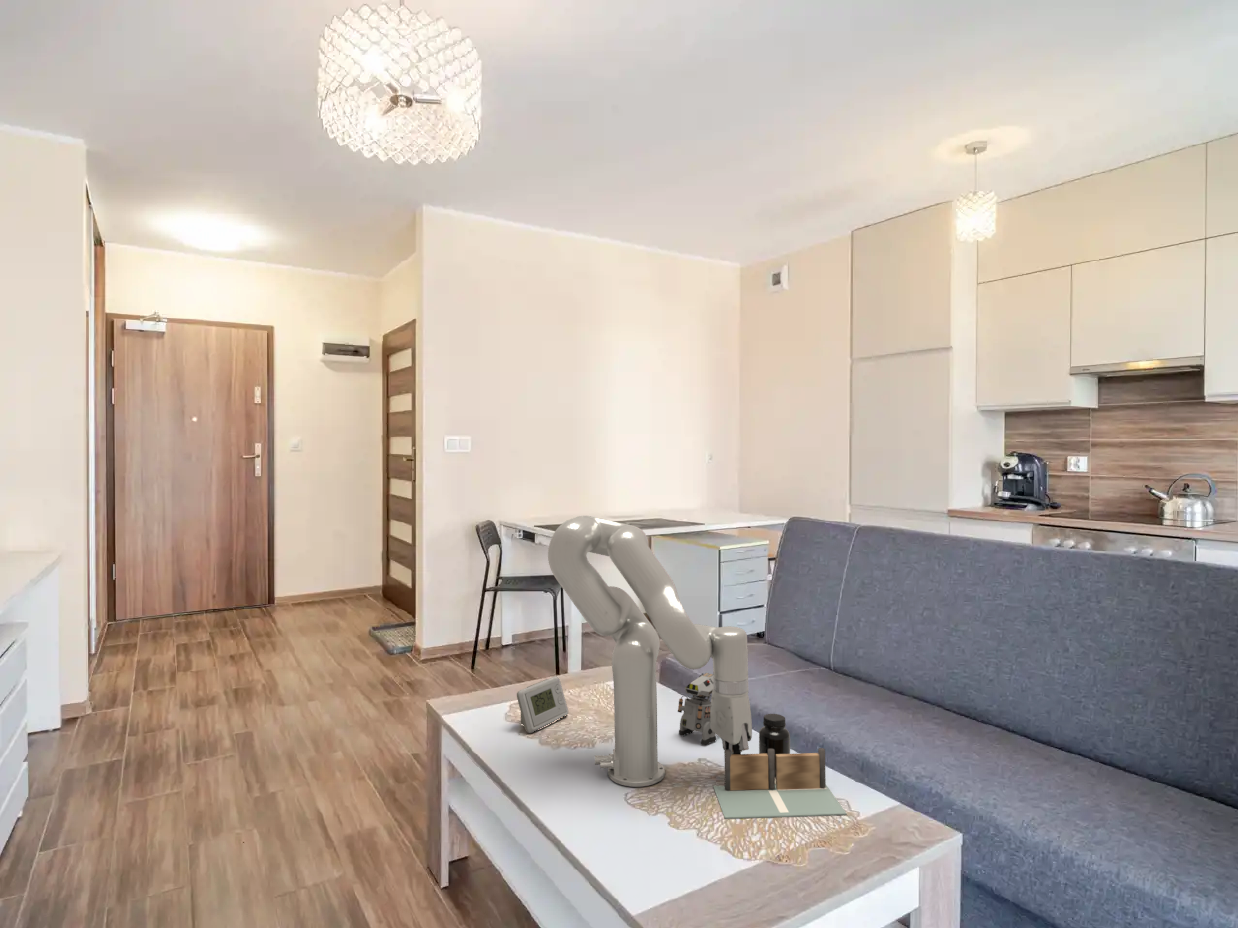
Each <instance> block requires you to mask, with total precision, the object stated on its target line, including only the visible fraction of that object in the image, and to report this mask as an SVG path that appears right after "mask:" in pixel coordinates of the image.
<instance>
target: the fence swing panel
mask: <svg viewBox="0 0 1238 928" xmlns="http://www.w3.org/2000/svg"><path fill="white" fill-rule="evenodd" d="M723 751H724V752H723V753H724V756H723V757H724V786H725V790H728V791H730V790H758V789H768V788H769V789H775V784H776V777H775V750H774V749H768V755H767V754H759V753H741V754H731V750H723Z"/></svg>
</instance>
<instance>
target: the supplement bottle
mask: <svg viewBox="0 0 1238 928" xmlns="http://www.w3.org/2000/svg"><path fill="white" fill-rule="evenodd" d="M762 725H763V726H762V727H761V728H760V730H759V732H758V754H767V755H768V749H774V750H775V778H776V754H791V735H790V731H789V730H788V729H787V728H786V727H787V725H786V717H785V716H784V715H782V714H779V713H768V714H764V716H763V722H762Z"/></svg>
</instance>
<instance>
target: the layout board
mask: <svg viewBox="0 0 1238 928" xmlns="http://www.w3.org/2000/svg"><path fill="white" fill-rule="evenodd" d="M713 790H714V793H715V795H716V798H718V799H717V801H718V804H719V806H720V810H721V812H722V814H723V817H724V819H725V820H730V819H731V820H732V819H737V820H738V819H762V818H764V819H765V818H767V819H768V818H792V817H793V818H794V817H795V818H796V817H824V816H829V817H830V816H831V817H832V816H847V814H848V813H847V812H846V810H845V809H844V808H843V806H842V805H841V803H840V802H839V801H838V799H837V797H835V795H834V794H833V792H832V791H831V789H830V788H829V787H828V785H827V784H826V788H824V789H822V788H818V789H785V790H777V788H776V783H775V789H769V788H768V789H758V790H730V791H728V790H725V785H713Z"/></svg>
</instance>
